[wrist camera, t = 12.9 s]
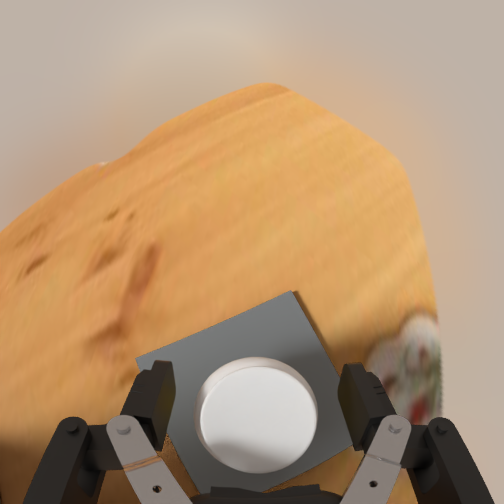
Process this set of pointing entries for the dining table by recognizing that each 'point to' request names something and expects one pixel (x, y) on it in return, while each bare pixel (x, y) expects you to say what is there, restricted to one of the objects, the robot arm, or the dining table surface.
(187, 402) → the slate pad
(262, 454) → the supplement bottle
